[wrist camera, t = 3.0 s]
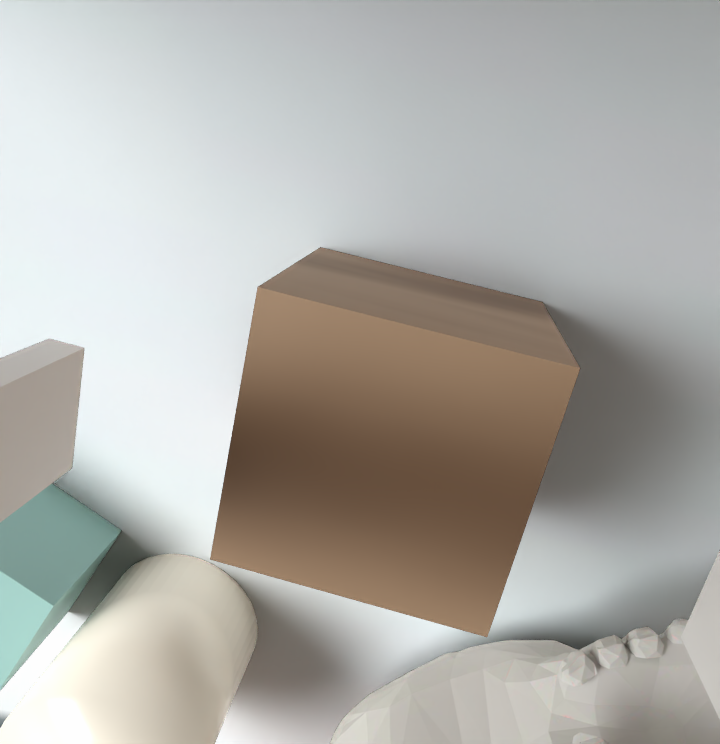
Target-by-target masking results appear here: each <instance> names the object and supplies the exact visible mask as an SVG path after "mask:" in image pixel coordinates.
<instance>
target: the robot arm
mask: <svg viewBox="0 0 720 744" xmlns="http://www.w3.org/2000/svg"><path fill="white" fill-rule="evenodd" d="M83 358H84V348H83V347H79V346H76V345H72V344H68V343H64V342H60V341H57V340H53V339H47V340H44V341H42V342H39V343H37V344H34V345H32V346H30V347H27V348H25V349H22V350H20V351H17V352H15V353H12V354H10V355H7V356H5V357H2V358H0V522H2V521H3V520H4V519H6V518H7V517H8V516H10V515H11V514H12V513H14V512H15V511H16V510H17V509H19V508H20V507H21V506H23V505H24V504H25V503H27V502H28V501H29V500H31V499H32V498H33V497H35V496H36V495H37V494H39V493H40V492H41V491H43V490H44V489H45V488H46V487H48V486H49V485H50V484H52V483H53V482H54V481H56V480H57V479H58V478H60V477H61V476H62V475H64V474H65V473H66V472H68V471H69V470H70V469H72V465H73V456H74V446H75V436H76V426H77V416H78V407H79V397H80V387H81V377H82V367H83ZM681 639H682V641H683V643H684V645H685V647H686V650H687V652H688V654H689V656H690V658H691V660H692V662H693V664H694V666H695V669H696V671H697V673H698V675H699V677H700V679H701V681H702V683H703V685H704V688H705V690H706V692H707V694H708V696H709V698H710V700H711V702H712V704H713V707H714V709H715V711H716V713H717V715H718V717H719V719H720V550H719V553H718V555H717V557H716V559H715V562H714V564H713V566H712V568H711V571H710V573H709V575H708V577H707V580H706V582H705V584H704V586H703V588H702V591H701V593H700V595H699V597H698V600H697V602H696V604H695V606H694V609H693V611H692V613H691V615H690V618H689V620H688V622H687V624H686V627H685V629H684V631H683V633H682V635H681Z"/></svg>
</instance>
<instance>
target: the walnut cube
mask: <svg viewBox="0 0 720 744" xmlns="http://www.w3.org/2000/svg"><path fill="white" fill-rule="evenodd" d="M579 371H580V367H579V365H578V363H577V362H576V360H575V358H574V356H573V355H572V353H571V351H570V349H569V348H568V346H567V344H566V342H565V341H564V339H563V337H562V335H561V333H560V332H559V330H558V328H557V326H556V325H555V323H554V321H553V319H552V318H551V316H550V314H549V312H548V311H547V309H546V307H545V305H544V304H543V302H541V301H537V300H532V299H528V298H524V297H520V296H516V295H512V294H508V293H504V292H500V291H496V290H492V289H488V288H484V287H480V286H476V285H472V284H468V283H464V282H459V281H455V280H451V279H447V278H443V277H439V276H435V275H431V274H427V273H423V272H419V271H415V270H411V269H407V268H403V267H399V266H395V265H390V264H386V263H382V262H378V261H374V260H370V259H366V258H362V257H358V256H354V255H350V254H346V253H342V252H338V251H334V250H330V249H326V248H321V247H320V248H319V249H317V250H315V251H314V252H312V253H311V254H309V255H308V256H306V257H304V258H303V259H301V260H300V261H298V262H296V263H295V264H293V265H292V266H290V267H289V268H287V269H285V270H284V271H282V272H281V273H279V274H277V275H276V276H274V277H273V278H271V279H270V280H268V281H266V282H265V283H263V284H262V285H260V286H258V288H257V294H256V299H255V305H254V311H253V317H252V322H251V328H250V334H249V339H248V345H247V351H246V357H245V362H244V368H243V374H242V380H241V385H240V391H239V397H238V403H237V408H236V414H235V420H234V425H233V431H232V437H231V443H230V448H229V454H228V460H227V466H226V471H225V477H224V483H223V489H222V494H221V500H220V506H219V512H218V517H217V523H216V529H215V534H214V540H213V546H212V552H211V557H210V559H211V560H214V561H218V562H221V563H225V564H228V565H232V566H236V567H239V568H243V569H246V570H250V571H253V572H257V573H260V574H264V575H268V576H271V577H275V578H278V579H282V580H285V581H289V582H293V583H296V584H300V585H303V586H307V587H310V588H314V589H317V590H321V591H325V592H328V593H332V594H335V595H339V596H342V597H346V598H349V599H353V600H357V601H360V602H364V603H367V604H371V605H374V606H378V607H382V608H385V609H389V610H392V611H396V612H399V613H403V614H406V615H410V616H414V617H417V618H421V619H424V620H428V621H431V622H435V623H439V624H442V625H446V626H449V627H453V628H456V629H460V630H463V631H467V632H471V633H474V634H478V635H481V636H485V637H487V636H488V633H489V630H490V627H491V625H492V622H493V619H494V616H495V613H496V610H497V607H498V604H499V601H500V599H501V596H502V593H503V590H504V587H505V584H506V581H507V578H508V576H509V573H510V570H511V567H512V564H513V561H514V558H515V555H516V552H517V550H518V547H519V544H520V541H521V538H522V535H523V532H524V529H525V527H526V524H527V521H528V518H529V515H530V512H531V509H532V506H533V503H534V501H535V498H536V495H537V492H538V489H539V486H540V483H541V480H542V477H543V475H544V472H545V469H546V466H547V463H548V460H549V457H550V454H551V452H552V449H553V446H554V443H555V440H556V437H557V434H558V431H559V428H560V426H561V423H562V420H563V417H564V414H565V411H566V408H567V405H568V403H569V400H570V397H571V394H572V391H573V388H574V385H575V382H576V379H577V377H578V374H579Z"/></svg>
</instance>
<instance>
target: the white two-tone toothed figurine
mask: <svg viewBox="0 0 720 744" xmlns="http://www.w3.org/2000/svg"><path fill="white" fill-rule="evenodd" d="M687 622H688V620H686V619H674V620H673V622H672V623H671V624H670V625H669V626H668V627H667V629H666V630H665V631H664V632H663V633H661V634H659V635H657V634H656V633H655V632H654V631H653V630H652V629H651V628H649V627H641V628H637V629H634V630H632V631H630V632H629V633H628V634H627V635H625V636H624V637H623V638H622V639H621V638H620V637H618V636H616V635H612V636H608V637H605V638H601V639H598V640H596V641H595V642H594V643H592V644H590V645H588V646H586V647H584V648H582V649H580V650H577V649H575V648H573V647H570V646H568V645H565V644H563V643H560V642H558V641H555V640H505V641H499V642H492V643H487V644H482V645H477V646H472V647H469V648H466V649H464V650H461V651H458V652H451V653H445V654H443V655H441V656H440V657H438V658H436V659H434V660H432V661H430V662H428V663H426V664H424V665H422V666H420V667H418V668H416V669H414V670H412V671H410V672H408V673H406V674H405V675H403V676H401V677H399V678H398V679H396V680H394V681H392V682H390V683H389V684H387V685H385V686H383V687H381V688H380V689H378V690H376V691H374V692H372V693H371V694H369V695H368V696H367V697H366V698H364V699H363V700H362V701H361V702H360V703H358V704H357V705H356V706H355V707H354V708H353V709H352V710H351V711H350V712H349V713H348V714H347V715H346V716H345V717H344V718H343V719H342V720H341V722H340V723H339V725H338V727H337V729H336V730H335V732H334V734H333V737H332V739H331V742H330V744H720V719H719V717H718V715H717V713H716V711H715V709H714V707H713V704H712V702H711V700H710V698H709V696H708V694H707V692H706V690H705V688H704V685H703V683H702V681H701V679H700V677H699V675H698V673H697V671H696V669H695V666H694V664H693V662H692V660H691V658H690V656H689V654H688V652H687V650H686V647H685V645H684V643H683V641H682V639H681V635H682V633H683V631H684V629H685V627H686V624H687Z"/></svg>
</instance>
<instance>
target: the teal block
mask: <svg viewBox="0 0 720 744" xmlns="http://www.w3.org/2000/svg"><path fill="white" fill-rule="evenodd" d="M121 531H122V530H120V529H119V528H117V527H116V526H114V525H113V524H111V523H110V522H109V521H107V520H106V519H104V518H103V517H101V516H100V515H98V514H97V513H95V512H94V511H92V510H91V509H89V508H88V507H86V506H85V505H83V504H82V503H80V502H79V501H77V500H76V499H74V498H73V497H71V496H70V495H68V494H67V493H65V492H64V491H63V490H61V489H60V488H58V487H57V486H55V485H54V484H50V485H49V486H48V487H46V488H45V489H44V490H43V491H41V492H40V493H39V494H37V495H36V496H35V497H33V498H32V499H31V500H29V501H28V502H27V503H25V504H24V505H23V506H21V507H20V508H19V509H17V510H16V511H15V512H14V513H12V514H11V515H10V516H8V517H7V518H6V519H4V520H3V521H2V522H0V690H1V689H2V688H3V687H4V686H5V685H6V684H7V682H8V681H9V680H10V679H11V678H12V677H13V675H14V674H15V673H16V672H17V671H18V670H19V668H20V667H21V666H22V665H23V664H24V663H25V661H26V660H27V659H28V658H29V657H30V656H31V654H32V653H33V652H34V651H35V650H36V649H37V647H38V646H39V645H40V644H41V643H42V642H43V640H44V639H45V638H46V637H47V636H48V635H49V634H50V632H51V631H52V630H53V629H54V628H55V627H56V625H57V624H58V623H59V622H60V621H61V620H62V618H63V617H64V616H65V615H66V614H67V613H68V611H69V610H70V608H71V607H72V605H73V604H74V602H75V601H76V599H77V598H78V596H79V595H80V593H81V592H82V590H83V589H84V587H85V586H86V584H87V582H88V581H89V579H90V578H91V576H92V575H93V573H94V572H95V570H96V569H97V567H98V566H99V564H100V563H101V561H102V560H103V558H104V557H105V555H106V554H107V552H108V551H109V549H110V548H111V546H112V545H113V543H114V541H115V540H116V538H117V537H118V535H119V534H120V532H121Z"/></svg>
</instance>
